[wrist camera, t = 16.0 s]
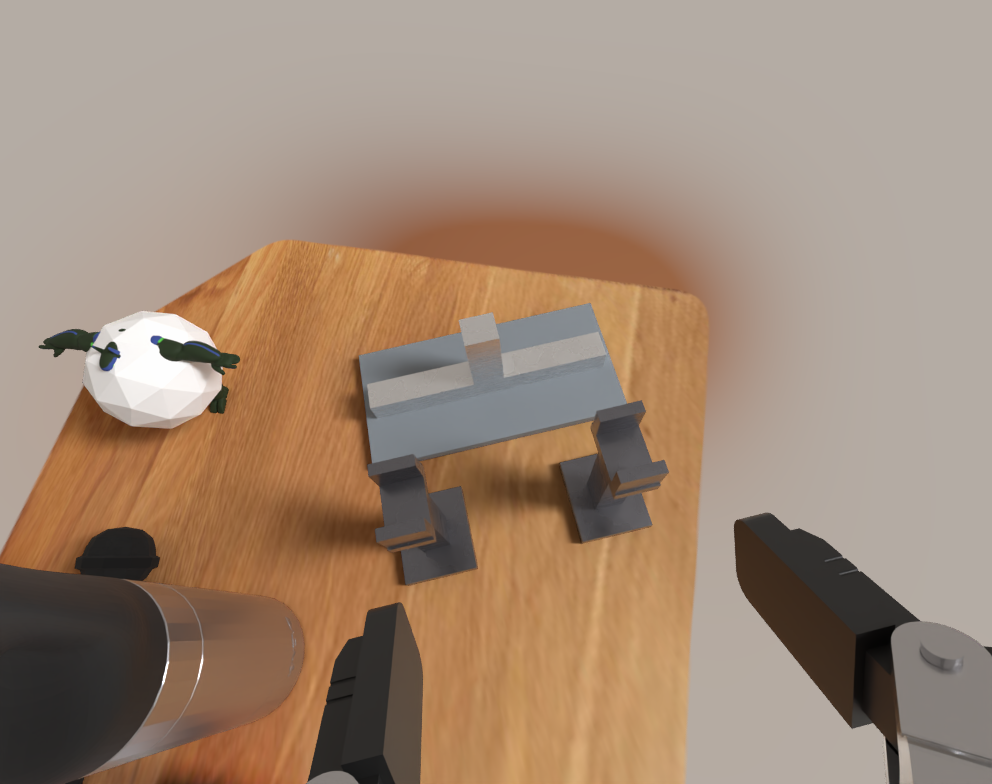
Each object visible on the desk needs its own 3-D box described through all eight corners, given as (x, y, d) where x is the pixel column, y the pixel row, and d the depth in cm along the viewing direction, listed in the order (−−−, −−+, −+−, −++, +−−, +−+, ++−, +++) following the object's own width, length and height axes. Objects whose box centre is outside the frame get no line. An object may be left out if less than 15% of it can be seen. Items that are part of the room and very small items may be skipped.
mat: (375, 471, 48) (372, 468, 47) (361, 360, 53) (358, 355, 52) (626, 412, 48) (628, 408, 47) (589, 308, 53) (590, 303, 53)
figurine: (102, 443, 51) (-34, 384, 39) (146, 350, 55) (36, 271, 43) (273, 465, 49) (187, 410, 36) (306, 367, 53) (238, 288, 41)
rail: (377, 418, 49) (344, 373, 40) (374, 395, 50) (341, 346, 41) (603, 367, 49) (617, 311, 41) (595, 345, 50) (607, 286, 42)
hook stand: (408, 585, 43) (353, 566, 30) (397, 504, 46) (342, 454, 33) (649, 527, 44) (699, 483, 31) (623, 450, 47) (658, 380, 34)
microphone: (127, 786, 41) (172, 528, 47) (93, 820, 36) (149, 525, 42) (47, 794, 40) (104, 528, 46) (-1, 830, 35) (71, 524, 41)
